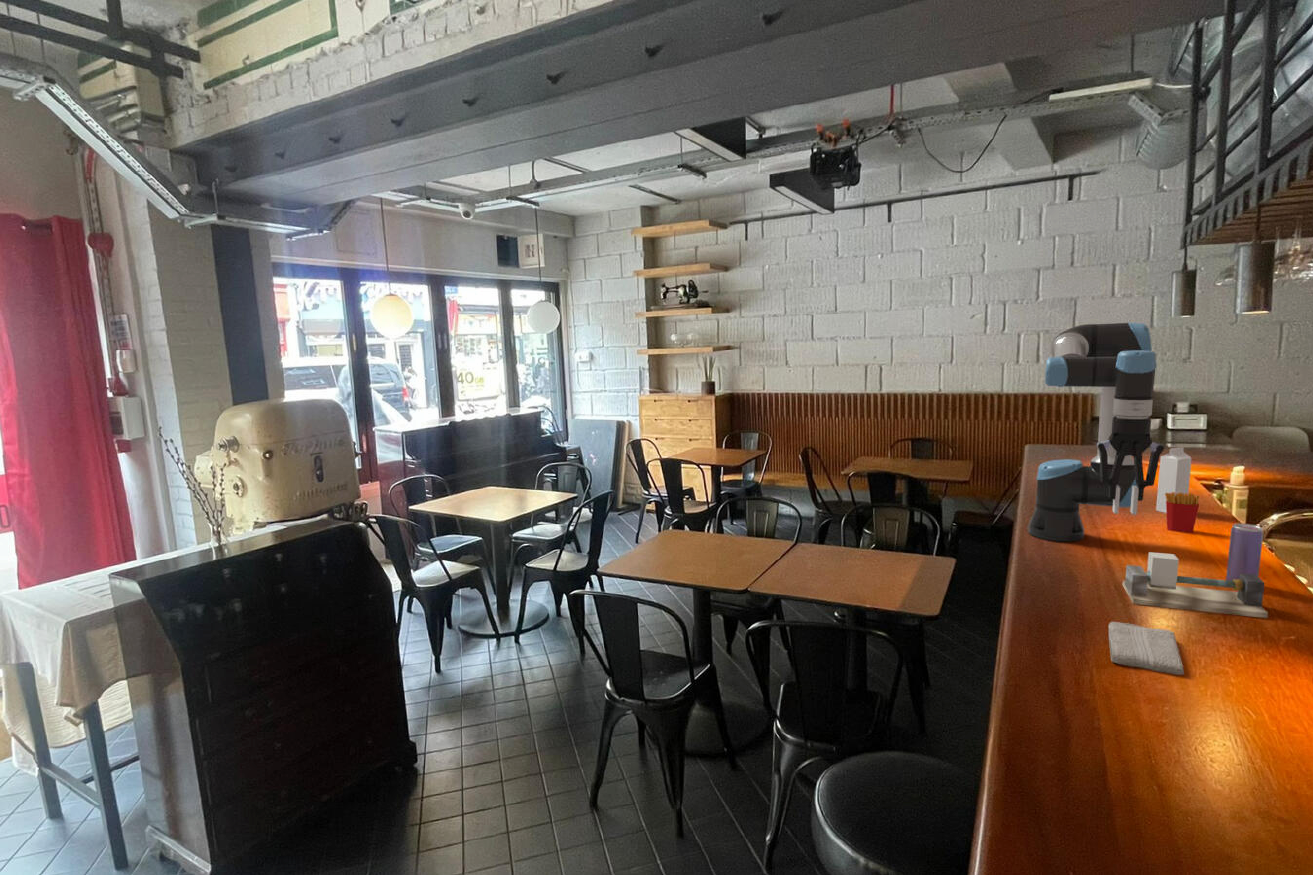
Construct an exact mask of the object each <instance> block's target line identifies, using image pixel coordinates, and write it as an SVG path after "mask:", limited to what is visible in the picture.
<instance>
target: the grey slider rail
mask: <svg viewBox="0 0 1313 875" xmlns="http://www.w3.org/2000/svg"><path fill="white" fill-rule="evenodd" d="M1125 569H1126V570H1125V579H1124V580H1122V586H1123V588H1124V590H1125V592H1126V594H1127V595H1128V597H1129V599H1130V600H1131V602H1132V604H1135V605H1142V606H1153V607H1162V608H1168V609H1169V608H1171V609H1179V610H1187V611H1189V610H1190V611H1196V612H1197V611H1199V612H1205V613H1208V612H1209V613H1214V614H1215V613H1217V614H1224V615H1225V614H1226V615H1235V616H1242V617H1243V616H1245V617H1252V618H1253V617H1254V618H1262V619H1268V618H1269V617H1268V616H1269V612H1268V611H1267V610H1266V609H1264V607H1263V599H1264V592H1265V585H1266V584H1265V583H1266V582H1264V581H1263V580H1262V579H1261V578H1260V577H1259V575H1258V576H1257V575H1251V574H1240V576H1239V579H1233V581H1227V580H1226V579H1225V580H1224V579H1216V578H1204V577H1194V576H1193V577H1192V576H1184V575H1183V576H1182V575H1177V583H1178V584H1188V585H1196V586H1197V585H1198V586H1199V585H1200V586H1206V587H1207V586H1210V587H1216V588H1217V587H1220V588H1228V589H1232V590H1233V591H1231V590H1224V589H1222V590H1221V589H1211V588H1202V587H1192V586H1191V587H1190V586H1180V585H1176V590H1174V589H1164V588H1154V587H1150V586H1149V584H1148V583H1147V582H1148V580H1150V575H1151V573H1147V572H1146V571H1145V570H1144V568H1143V566H1142V565H1141V566H1140V565H1132V564H1126V568H1125ZM1177 583H1176V584H1177Z"/></svg>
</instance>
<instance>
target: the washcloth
mask: <svg viewBox="0 0 1313 875" xmlns="http://www.w3.org/2000/svg"><path fill="white" fill-rule="evenodd" d="M1108 643H1109V652H1110V660H1111V662H1112V663H1115V664H1118V665H1122V666H1123V665H1124V666H1129V667H1133V668H1134V667H1136V668H1141V669H1145V670H1151V671H1155V672H1159V673H1167V674H1171V673H1172V675H1175V676H1176V675H1177V676H1182V675H1185V672H1184V665H1183V662H1182V657H1181V655H1180V649H1179V647H1178V644H1177V639H1176V635H1175V633H1174V632H1173V631H1171V630H1169V629H1162V628H1151V627H1143V626H1141V625H1137V624H1132V623H1125V622H1117V621H1111V622H1109V624H1108Z"/></svg>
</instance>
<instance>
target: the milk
mask: <svg viewBox="0 0 1313 875" xmlns="http://www.w3.org/2000/svg"><path fill="white" fill-rule="evenodd" d="M1184 448H1185V447H1183V446H1182V447H1174V448H1170V449H1169V453H1167V454H1164V455H1160V458H1159V473H1158V485H1157V486H1158V487H1157V498H1156V507H1155V511H1156V512H1160V513H1164V514H1167V513H1166V501H1167V500H1166V496H1165V493H1168V494H1169V493H1171V494H1172V492H1174V493H1175V495H1176V494H1178V492H1181V493H1183V494H1185V493H1187V494H1189V490H1190V489H1189V488H1190V480H1191V469H1192V457H1191V456H1190V455H1189V454H1187V453H1186V452H1184Z"/></svg>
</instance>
